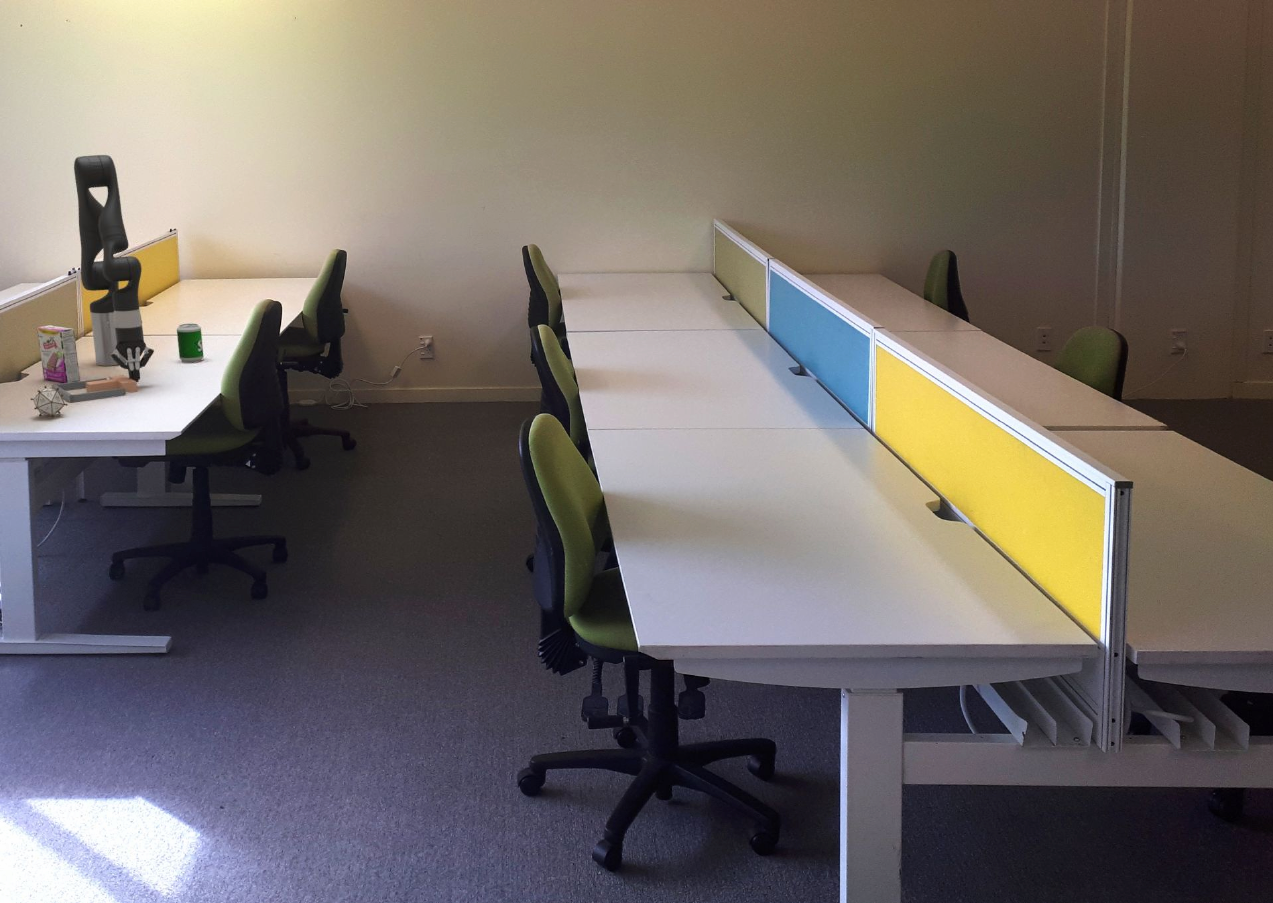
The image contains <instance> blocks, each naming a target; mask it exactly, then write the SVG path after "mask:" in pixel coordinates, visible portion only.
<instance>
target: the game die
mask: <svg viewBox="0 0 1273 903" xmlns="http://www.w3.org/2000/svg"><path fill="white" fill-rule="evenodd" d="M58 390H59V388H57V390H54V389H52V388H48V387H47V386H46V385H44V389H42V390H39V389H37V394H36V395H35V397H33V398H32V397H31V398H30V400H31V401H33V402H34V405H35V407H34V408H33V410H34V411H35V410H37V411H38V412H39V415H38V416H39V417H41V416H42V415H47V416H50V417H51V419H54V418H55V416H54V415H56V414H57V413H58V414H61V412H60V411H61V410H62V409H63V407H65V406H68V405H69V404H68V403H65V401H64V399H63V398H62V397H63V396H64V395H63V394H62V395H60V393H59V392H58Z"/></svg>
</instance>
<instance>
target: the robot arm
mask: <svg viewBox="0 0 1273 903" xmlns="http://www.w3.org/2000/svg"><path fill="white" fill-rule="evenodd" d="M73 162H74V164H73V172H74V179H75V187H76V192H77V193H76V194H77V201H78V204H77V206H78V232H79V239H80V241H79V242H80V247H81V248H80V279H81V284H82V286H83V288H84V289H85V290H86V291H92V292H95V291H107V293H106V294H105V295H103V297H101V298H99V299H96V300H94V301H92V302H90V304H89V312H90V320H91V328H92V329H91V330H92V336H93V347H94V353H95V354H94V355H95V363H96V365H97V366H103V367H104V366H107V367H108V366H110V367H111V366H119V367H121V369H123V370H127V372H128V378H130V379H132V380H134V381H136V383H139V381H140V380H141V373H140V369H141V368H143V367H144V368H145V367H146V365H147V364H148V362H149V360H150V359H151V357H152V356H153V354H154V352H155V349H154V348H153V349H152V348H150V347H148V346H147V343H146V342H145V339H144V330H143V320H142V315H141V309H140V303H139V287H140V281H141V278H142V269H143V268H142V264H141V262H140V260H139V259H138V258H137V257H135V256H134V255H133V256H132V255H131V256H129V255H128V256H114V255H116V254H119V253H122V252H125V251H126V250H128V248H129V245H130V244H129V239H128V236H127V232H126V228H125V225H124V219H123V214H122V204H121V196H120V188H119V182H118V181H119V180H118V176H117V170H116V166H115V163H114V160H113V158H112V157H111V156H110V155H107V154H99V155H97V154H96V155H81V156H77V157H75V160H74V161H73ZM105 187H106V188H107V197H106V201H105V203H104V205H103V204H102V203H100V202H99V201H98V200H97V199H96V198H95V197H94V196H93V194H92V192H91V191H90V189H91V188H92V189H93V188H105ZM102 250H103V254H102V255H103V260H100V261H95V260H96V258H97V256H98V255H99V254H100V252H102ZM119 282H127V284H126V286H124V287H121V288H120V287H119ZM143 353H144V354H143ZM141 356H142V357H141Z"/></svg>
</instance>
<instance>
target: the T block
mask: <svg viewBox="0 0 1273 903" xmlns="http://www.w3.org/2000/svg"><path fill="white" fill-rule="evenodd" d="M108 378H109V379H108ZM108 378H107V380H100V381H92V382H85V383H86V388H85V390H86V393H88V392H96V391H103V390H111V389H118V388H125V391H126V392H129V393H135V392H138V384H137V383H138V382H136V381H134V380H132V379H130V378H129V376H127V375H124V374H117V375H110V376H108Z"/></svg>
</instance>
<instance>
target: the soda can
mask: <svg viewBox="0 0 1273 903" xmlns="http://www.w3.org/2000/svg"><path fill="white" fill-rule="evenodd" d="M176 335H177V345H178V356H179V360H180V361H181V362H183V363H184V364H185V363H186V364H187V363H188V364H189V363H190V364H191V363H199V362H202V359H203V358H204V347H203V338H202V337H203V335H202V327H201V326H199V324H197V323H182V324H179V325H178V327H177V328H176ZM203 360H204V359H203Z"/></svg>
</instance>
